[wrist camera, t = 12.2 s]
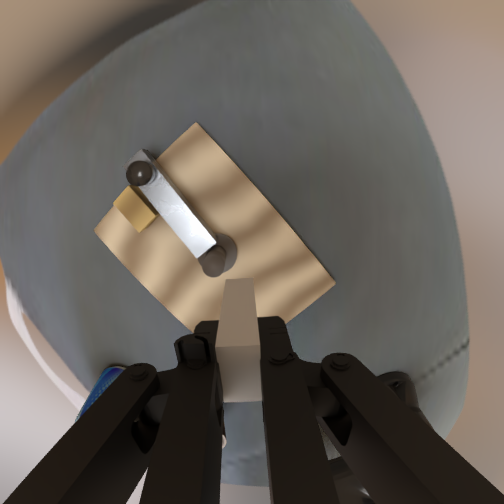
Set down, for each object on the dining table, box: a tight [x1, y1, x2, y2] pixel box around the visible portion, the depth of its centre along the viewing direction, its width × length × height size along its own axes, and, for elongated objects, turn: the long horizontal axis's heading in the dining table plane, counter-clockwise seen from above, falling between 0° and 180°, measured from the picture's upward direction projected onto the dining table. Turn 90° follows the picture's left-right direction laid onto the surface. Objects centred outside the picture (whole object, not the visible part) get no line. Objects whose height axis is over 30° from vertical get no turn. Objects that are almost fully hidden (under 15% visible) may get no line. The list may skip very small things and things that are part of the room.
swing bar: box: [123, 149, 218, 258], centre depth 30 cm, size 14×3×4 cm, turn 38°
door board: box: [94, 123, 336, 333], centre depth 33 cm, size 28×20×7 cm
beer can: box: [75, 366, 126, 422], centre depth 34 cm, size 8×8×16 cm
